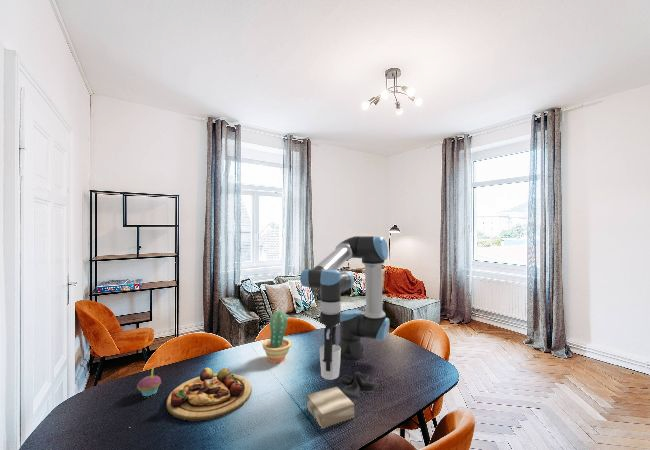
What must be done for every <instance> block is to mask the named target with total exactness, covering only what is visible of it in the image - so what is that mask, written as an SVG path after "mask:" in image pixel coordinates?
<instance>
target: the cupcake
mask: <svg viewBox="0 0 650 450" xmlns="http://www.w3.org/2000/svg"><path fill="white" fill-rule="evenodd" d="M154 369H155V368H154V367H151V371H150V372H151V373H150V375H147V376H145V377H143V378H142V379H140V380H139V381H138V383H137V384H136V389H137V390H138V391H139V392H141V395H142V397H143V396H150V395H152V394H155V393H156V394H157V391H158V389H159V386H160V385H161V384H162V379H161V377H160V376H158V375H155V374H154ZM156 394H155V395H156Z"/></svg>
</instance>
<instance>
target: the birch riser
mask: <svg viewBox="0 0 650 450" xmlns="http://www.w3.org/2000/svg"><path fill="white" fill-rule="evenodd" d="M307 408H308V409H307ZM306 409H307V410H308V411H309V412H311V413H312V414H311V413H310V414H311V415H313V416H314V417H313V418H314V420H315V419H316V420H315V421H316V423H317V422H318V423H317V424H318V425H319V427H320V426H321V427H320V428H321V429H322V430H323V428H324V429H326V428H325V427H327V426H330V425H333V424H335V425H337V424H336V423H338V424H340V423H339V422H341V423H343V422H342V421H344V422H346V421H345V420H347V421H349V420H348V419H350V420H352V419H351V418H353V419H354V418H355V403H354V402H353V401H352V400H351V399H350V398H349V396H346V395H345V394H344V393H343V392H342V389H340V388H339V387H338V386H334V387H330V388H327V389H323V390H319V391H316V392H311V393H309V394H307V395H306ZM333 426H334V425H333ZM330 427H331V426H330ZM327 428H328V427H327Z"/></svg>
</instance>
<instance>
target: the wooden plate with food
mask: <svg viewBox="0 0 650 450" xmlns="http://www.w3.org/2000/svg"><path fill="white" fill-rule="evenodd" d="M251 395H252V385H251V382H250V381H249V380H248V379H247V378H246V377H244V376H242V375H239V374H237V373H236V374H235V373H232V372H231V370H230V369H228V368H226V367H223V368H222V369H219V371H218V372H217V373H214V371H213V370H212V369H211V368H210V367H205V368H203V369H202V370H201V372H200V374H199V376H195V377H194V378H191V379H189V380H187V381H185V382H182V383H181V384H180V385H178V386H177V387H176V388H174V389H173V390H172V391H171V392H170V394H169V395H168V397H167V399H166V401H165V402H166V404H165V405H166V410H167V412H168V413H169V414H170V415H171V416H172V415H173V416H172V417H174V418H175V419H176V418H177V419H178V418H179V419H178V420H181V419H183V420H182V421H185V420H188V421H187V422H202V421H201V420H206V421H210V420H209V419H212V420H215V418H216V419H219V418H222V417H225V416H227V414H228V415H230V414H232V413H234V412H235V411H237V410H239V409H240V408H241V407H242V406H244V403H245V402H246V403H247V401H248V400H249V399H250V396H251ZM246 403H245V404H246ZM233 411H234V412H233ZM231 412H232V413H231ZM229 413H230V414H229ZM224 415H225V416H224Z"/></svg>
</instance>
